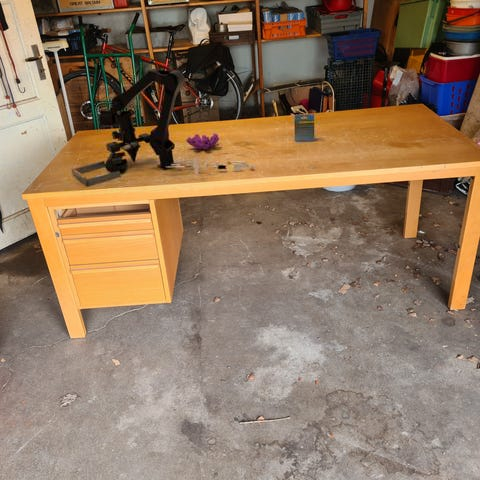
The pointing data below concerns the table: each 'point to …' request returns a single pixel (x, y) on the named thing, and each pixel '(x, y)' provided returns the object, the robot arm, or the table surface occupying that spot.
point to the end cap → (116, 162)
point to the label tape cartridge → (304, 128)
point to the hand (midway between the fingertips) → (133, 162)
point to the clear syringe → (220, 166)
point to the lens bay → (97, 179)
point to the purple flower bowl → (203, 141)
